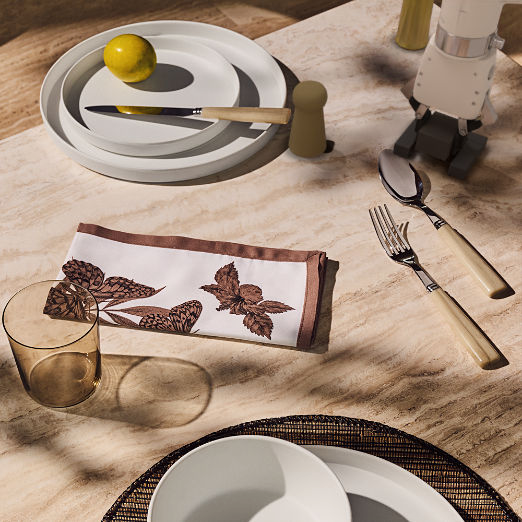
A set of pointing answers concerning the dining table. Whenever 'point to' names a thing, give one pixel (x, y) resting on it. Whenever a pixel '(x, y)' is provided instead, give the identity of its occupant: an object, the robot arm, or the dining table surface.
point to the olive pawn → (308, 119)
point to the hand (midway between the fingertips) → (438, 142)
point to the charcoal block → (437, 135)
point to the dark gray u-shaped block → (459, 163)
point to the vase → (414, 24)
